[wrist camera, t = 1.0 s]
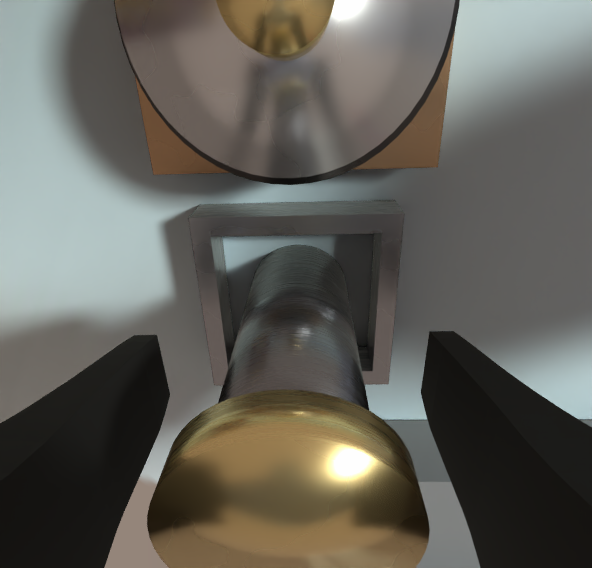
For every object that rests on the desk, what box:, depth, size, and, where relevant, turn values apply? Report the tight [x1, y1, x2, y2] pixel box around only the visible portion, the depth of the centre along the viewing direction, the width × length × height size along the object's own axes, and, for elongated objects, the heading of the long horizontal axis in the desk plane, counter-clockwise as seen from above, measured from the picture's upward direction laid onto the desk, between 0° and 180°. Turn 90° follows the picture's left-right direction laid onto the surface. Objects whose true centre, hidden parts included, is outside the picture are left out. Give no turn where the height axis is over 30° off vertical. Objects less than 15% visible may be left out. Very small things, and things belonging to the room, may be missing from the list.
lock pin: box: [147, 245, 430, 568], centre depth 11 cm, size 5×5×9 cm
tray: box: [384, 420, 592, 568], centre depth 19 cm, size 13×13×3 cm
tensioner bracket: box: [114, 0, 459, 385], centre depth 10 cm, size 8×15×6 cm, turn 2°
